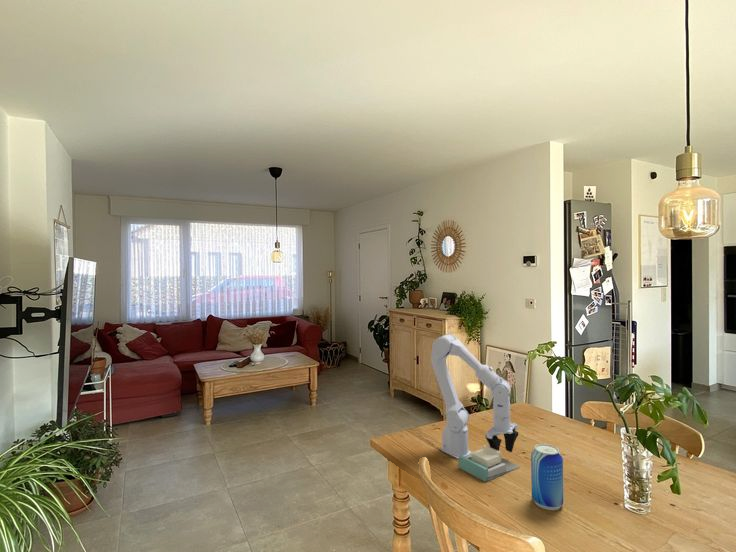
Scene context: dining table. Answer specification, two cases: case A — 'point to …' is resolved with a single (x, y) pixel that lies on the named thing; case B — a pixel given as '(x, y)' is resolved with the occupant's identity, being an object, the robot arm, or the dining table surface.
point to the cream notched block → (486, 456)
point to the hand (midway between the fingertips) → (502, 453)
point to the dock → (484, 472)
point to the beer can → (547, 477)
